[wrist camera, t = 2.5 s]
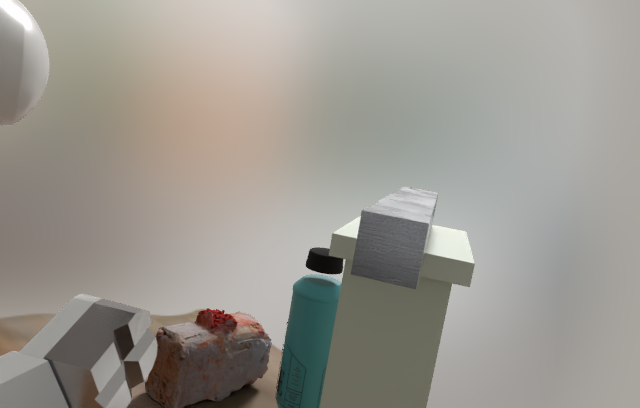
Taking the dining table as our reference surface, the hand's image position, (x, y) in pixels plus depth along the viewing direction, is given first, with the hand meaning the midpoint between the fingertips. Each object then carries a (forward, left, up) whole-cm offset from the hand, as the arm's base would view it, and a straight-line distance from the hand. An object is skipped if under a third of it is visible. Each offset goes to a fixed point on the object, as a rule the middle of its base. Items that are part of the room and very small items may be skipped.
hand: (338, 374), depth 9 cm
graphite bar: (-9, +22, -1) cm, 24 cm away
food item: (-35, +33, -28) cm, 55 cm away
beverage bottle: (-24, +37, -28) cm, 52 cm away
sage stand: (-10, +27, -27) cm, 40 cm away
